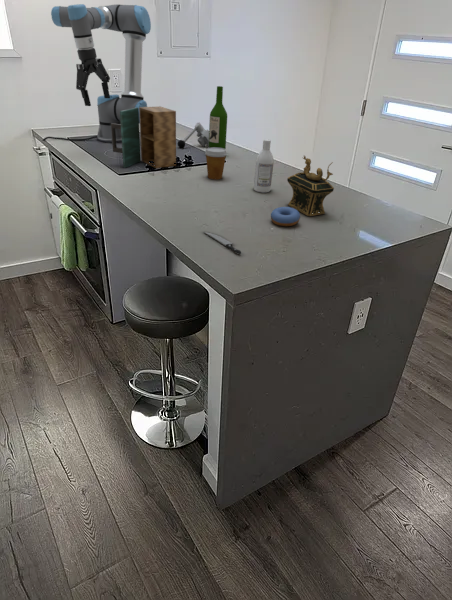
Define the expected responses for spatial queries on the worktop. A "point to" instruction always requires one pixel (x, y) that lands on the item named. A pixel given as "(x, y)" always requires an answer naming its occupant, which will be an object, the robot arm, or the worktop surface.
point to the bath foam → (264, 168)
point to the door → (128, 136)
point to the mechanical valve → (200, 133)
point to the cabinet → (158, 136)
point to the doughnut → (285, 216)
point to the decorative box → (309, 190)
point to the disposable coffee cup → (215, 162)
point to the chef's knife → (223, 242)
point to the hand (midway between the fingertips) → (98, 101)
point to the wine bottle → (218, 122)
